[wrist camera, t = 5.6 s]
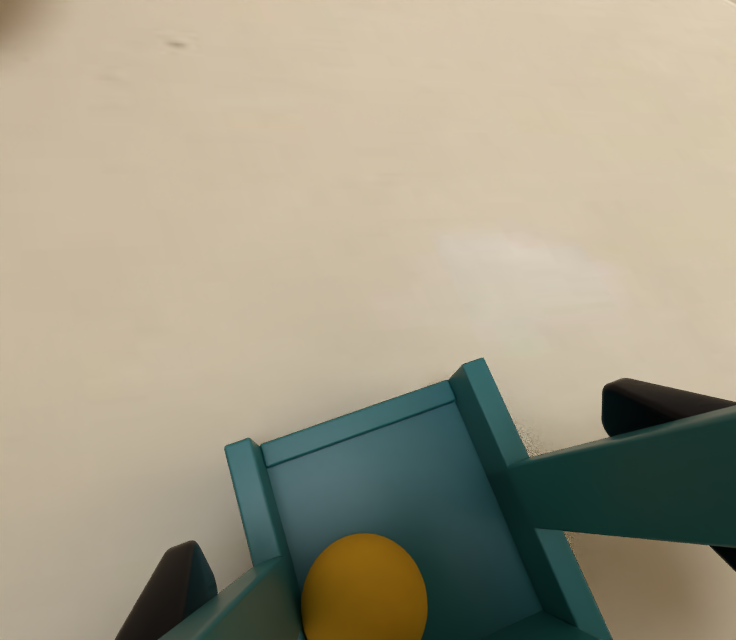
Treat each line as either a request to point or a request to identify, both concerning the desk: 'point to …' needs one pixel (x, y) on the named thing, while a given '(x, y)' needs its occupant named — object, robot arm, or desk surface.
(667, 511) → the tray with tall posts
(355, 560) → the toy ball
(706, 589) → the desk surface
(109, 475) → the desk surface
